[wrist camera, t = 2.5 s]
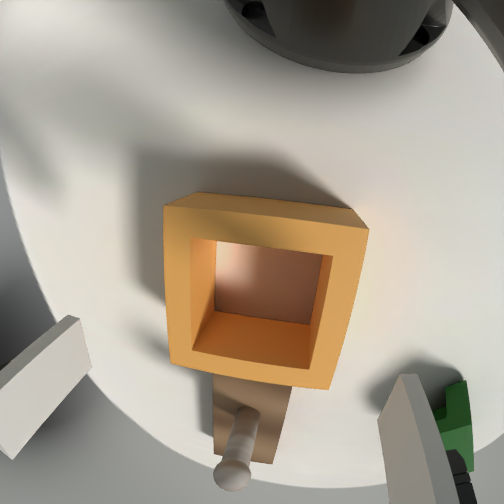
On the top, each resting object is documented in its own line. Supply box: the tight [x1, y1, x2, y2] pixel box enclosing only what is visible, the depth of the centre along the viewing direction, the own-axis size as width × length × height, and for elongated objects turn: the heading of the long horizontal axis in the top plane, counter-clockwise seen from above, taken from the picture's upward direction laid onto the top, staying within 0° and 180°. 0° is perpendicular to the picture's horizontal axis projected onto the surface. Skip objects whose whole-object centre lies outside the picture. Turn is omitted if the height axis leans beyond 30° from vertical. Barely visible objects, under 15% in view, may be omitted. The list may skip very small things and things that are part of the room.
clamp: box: [432, 380, 474, 473], centre depth 20 cm, size 12×6×9 cm, turn 27°
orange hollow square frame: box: [163, 192, 369, 390], centre depth 18 cm, size 10×10×5 cm
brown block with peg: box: [213, 373, 292, 491], centre depth 20 cm, size 14×6×10 cm, turn 176°
